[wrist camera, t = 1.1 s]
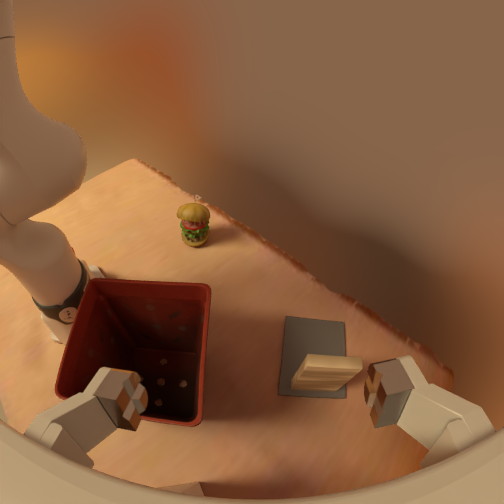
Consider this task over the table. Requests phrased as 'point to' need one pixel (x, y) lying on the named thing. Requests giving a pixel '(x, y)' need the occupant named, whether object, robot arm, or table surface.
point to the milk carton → (186, 489)
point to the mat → (309, 351)
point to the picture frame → (325, 372)
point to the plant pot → (142, 343)
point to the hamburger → (194, 223)
